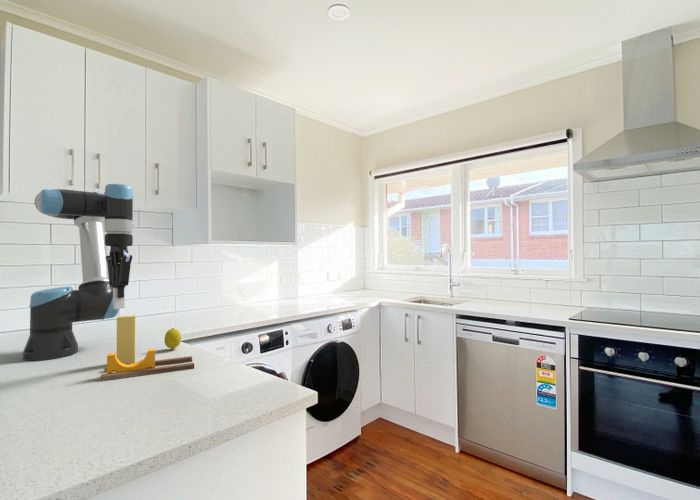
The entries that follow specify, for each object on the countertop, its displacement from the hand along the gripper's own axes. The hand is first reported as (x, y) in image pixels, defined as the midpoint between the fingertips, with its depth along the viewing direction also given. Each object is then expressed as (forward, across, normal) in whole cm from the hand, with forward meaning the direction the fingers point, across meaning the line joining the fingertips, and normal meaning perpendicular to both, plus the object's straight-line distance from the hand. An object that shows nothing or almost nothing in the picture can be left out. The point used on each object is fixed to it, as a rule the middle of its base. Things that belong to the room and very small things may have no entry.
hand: (118, 308), depth 116 cm
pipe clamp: (+19, -11, +1) cm, 21 cm away
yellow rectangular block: (+18, +2, -3) cm, 18 cm away
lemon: (+18, +5, -20) cm, 28 cm away
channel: (+18, -12, -4) cm, 22 cm away
